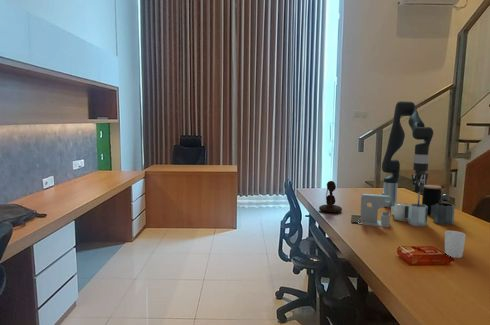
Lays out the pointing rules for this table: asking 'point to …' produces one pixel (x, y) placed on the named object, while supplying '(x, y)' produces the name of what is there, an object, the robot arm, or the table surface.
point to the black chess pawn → (330, 200)
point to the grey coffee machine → (374, 210)
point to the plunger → (419, 193)
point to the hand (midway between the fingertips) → (419, 191)
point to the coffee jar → (431, 196)
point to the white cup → (454, 243)
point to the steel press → (416, 214)
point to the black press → (443, 211)
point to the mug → (399, 211)
